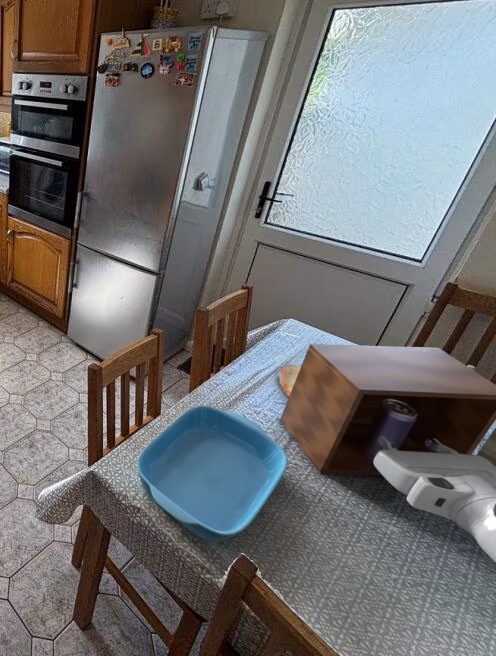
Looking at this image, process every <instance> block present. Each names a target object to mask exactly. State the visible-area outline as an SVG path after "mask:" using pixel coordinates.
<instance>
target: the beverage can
mask: <svg viewBox="0 0 496 656" xmlns="http://www.w3.org/2000/svg"><path fill="white" fill-rule="evenodd" d="M416 416H417V412H416V410H415V409H414V408H412V407H411V406H409V405H408V404H406V403H404V402H401V401H398V400H394V399H385V400H383V402H382V403H380V405H379V407H378V409H377V411H376V413H375V415H374V417H373V418H372V420H371V422H370V424H369V426H368V428H367V430H366V432H365V434H364V436H363V438H362V439H361V441H360V443H359V445H358V451H359V453H360V454H361V456H362V457H364V458H365V459H366V460H368V461H369V462H371V463H373V461H374V458H375V456H376V454H377V452H378V451H379V450H383V447H382V446H381V445H380V444H379V443H378V438H379V437H380V436H387V437H389V438H390V439H391V440H392V441H393V442H394V443H393V444H392V448H396V449H397V450H399V448H400V446H401V445H402V443H403V441H404V440H405V438H406V436H407V435H408V433H409V431H410V429H411V428H412V426H413V424H414V423H415V421H416Z"/></svg>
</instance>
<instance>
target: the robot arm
mask: <svg viewBox="0 0 496 656" xmlns="http://www.w3.org/2000/svg"><path fill="white" fill-rule="evenodd" d="M378 443H379V444H380V445H381V446H382V447H383V450H379V451H378V452H377V454H376V456H375V458H374V461H373V463H374V466H375V467H376V468H377V470H378V471H379V472H380V473H381V474H382V475H383V476H382V477H383V478H384V479H385V480H386V481H387V482H388V483H389V484H391V486H393V488H395V489H396V490H397V491H398V492H400V493H402V494H404V495H407V496H406V502H408V504H409V505H410V506H411V507H413V508H415V509H418V510H421V511H425V512H428V513H431V514H435V515H437V516H440V517H441V518H444V519H447V520H451V521H454V522H455V523H456V524H457V525H458V526H459V527H460V528H461V529H463V531H465V532H467V533H468V534H469V535H471V536H472V537H473V538H474V539H475V541H476V542H477V544H478V546H479V547H480V549H481V550H482V551H483V552H484V553H485V554H486V555H487V556H488V557H489V558H490V559H491V560H492V561H493V562H494V563H495V564H496V467H495V466H494V465H493V464H492V463H491V462H490V461H488V460H487V459H485V458H483V457H481V456H479V455H477V454H471V455H468V454H459V453H458V452H457V451H455V450H453V449H451V448H449V447H447V446H445V445H442V444H441V443H440V442H439V441H438V440H436V439H426V441H425V445H426V446H427V447H428V448H429V449H430V450H435V451H437V452H438V453H431V452H413V451H398V450H397V449H396V448H392V444H393V443H394V442H393V441H392V440H391V439H390V438H389V437H387V436H380V437H379V438H378Z"/></svg>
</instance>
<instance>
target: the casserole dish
mask: <svg viewBox="0 0 496 656" xmlns="http://www.w3.org/2000/svg"><path fill="white" fill-rule="evenodd" d="M288 461H289V460H288V455H287V452H286V451H285V449H284V448H283V447H282V446H281V445H280V444H279V443H278V442H277V441H276V440H274V438H272V437H271V436H269V435H268V434H267V432H266V431H265V430H264V429H263V428H262V427H261V426H260V425H259V424H257V423H256V422H254V421H253V420H251V419H249V418H247V417H246V416H243V415H241V414H239V413H237V412H233V411H227V410H222V409H220V408H217V407H214V406H210V405H197V406H193V407H191V408H189V409H187V410H186V411H184V412H183V413H182V414H181V415H179V416H178V417H177V418H176V419H175V420H173V422H171V423H170V424H169V425H168V426H167V427H165V428H164V429H163V430H162V431H161V432H160V433H158V435H156V436H155V437H154V438H153V439H152V440H151V441H150V442H149V443H148V444H147V445H146V446H145V447H144V448H143V449H142V451H141V452H140V453H139V455H138V456H137V460H136V467H137V472H138V477H139V480H140V484H141V486H142V488H143V490H144V493H146V495H147V496H148V497H149V498H150V499H151V500H152V501H153V502H154V503H155V504H156V505H157V506H158V507H159V508H161V509H162V510H163V511H165V512H166V513H167V514H168V515H170V516H171V517H172V518H174V520H176V521H177V522H178V523H180V524H181V525H183V527H185V528H186V529H188V530H189V531H190V532H192V533H193V534H194V535H196V536H198V537H200V538H201V539H204V540H206V541H209V542H224V541H227V540H229V539H231V538H233V537H234V536H236V535H238V534H240V533H241V532H243V531H244V530H245V529H247V528H248V527H249V526H250V525H251V524H252V523H253V521H254V520H255V519H256V517H257V516H258V514H259V513H260V512H261V510H262V508H264V506H265V504H266V503H267V501H268V500H269V498H270V496H271V495H272V494H273V492H274V490H275V489H276V487H277V486H278V485H279V483H280V482H281V480H282V478H283V476H284V475H285V472H286V470H287V467H288Z"/></svg>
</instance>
